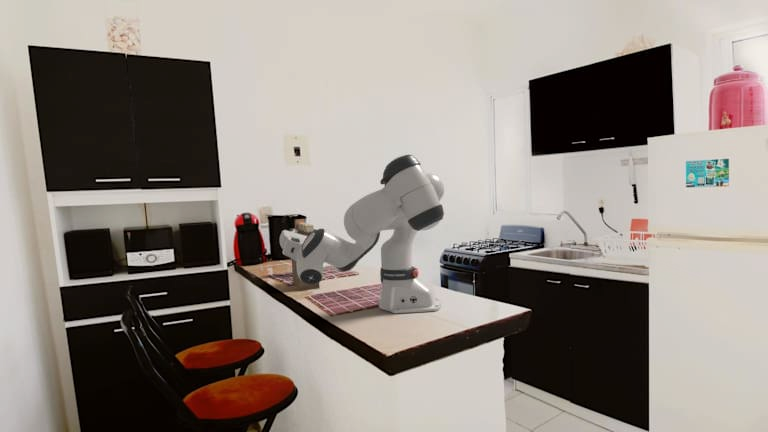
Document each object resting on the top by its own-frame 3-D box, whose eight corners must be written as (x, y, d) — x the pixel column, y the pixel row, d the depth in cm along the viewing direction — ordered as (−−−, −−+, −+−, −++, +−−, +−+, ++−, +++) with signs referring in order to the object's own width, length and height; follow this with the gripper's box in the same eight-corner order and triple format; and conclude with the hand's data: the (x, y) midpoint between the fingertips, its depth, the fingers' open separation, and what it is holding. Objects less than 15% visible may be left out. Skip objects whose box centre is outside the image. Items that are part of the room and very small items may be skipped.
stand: (319, 288, 183) (316, 229, 181) (299, 291, 180) (295, 231, 178) (312, 281, 198) (308, 227, 196) (293, 283, 194) (289, 228, 193)
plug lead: (315, 231, 172) (314, 222, 172) (305, 232, 170) (304, 223, 170) (303, 227, 195) (303, 219, 195) (295, 228, 194) (294, 219, 193)
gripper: (338, 252, 150) (334, 234, 162) (283, 237, 143) (283, 219, 155) (332, 266, 152) (329, 247, 164) (277, 252, 145) (278, 234, 157)
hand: (306, 234), depth 159 cm, fingers open, 8 cm apart
